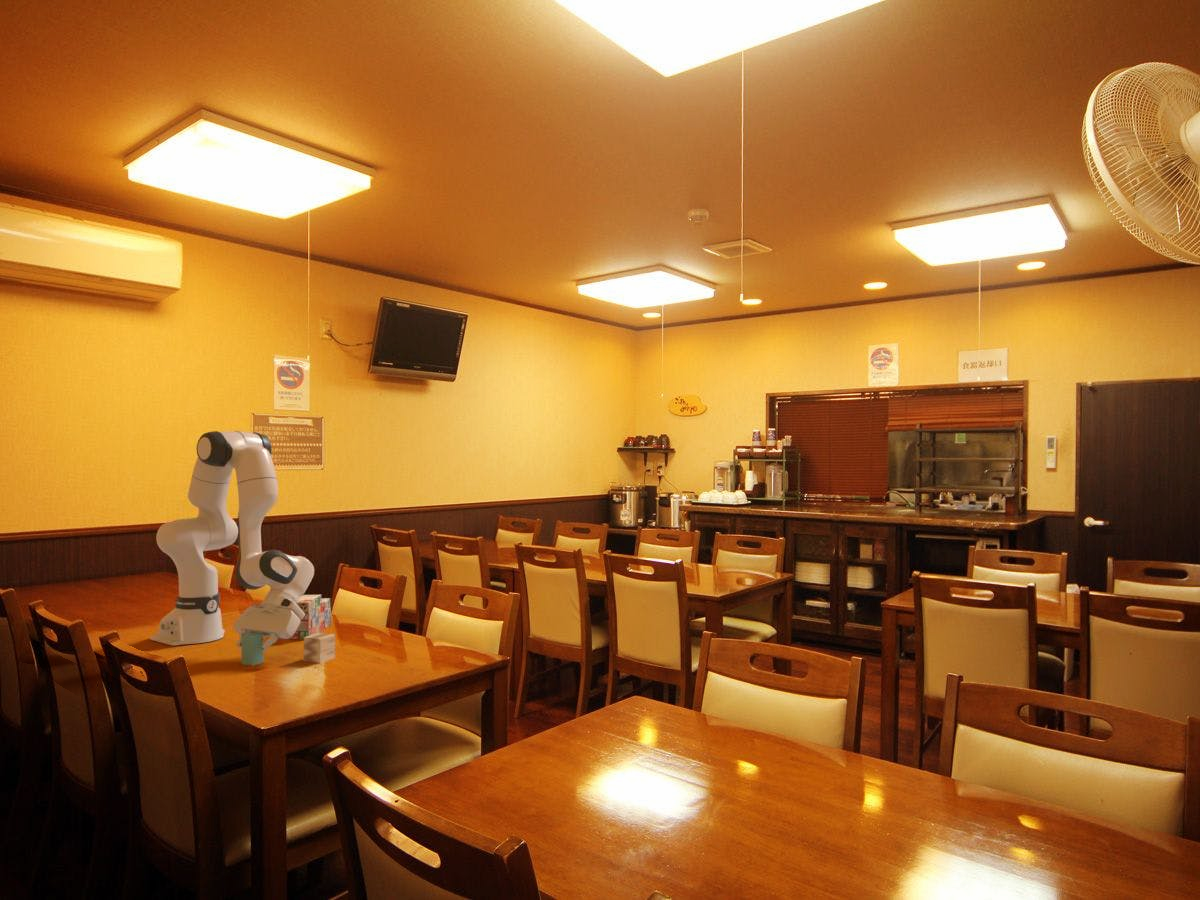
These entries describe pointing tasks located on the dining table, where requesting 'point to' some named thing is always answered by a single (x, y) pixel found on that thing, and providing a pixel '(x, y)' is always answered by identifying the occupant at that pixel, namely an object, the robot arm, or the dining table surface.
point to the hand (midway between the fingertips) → (251, 647)
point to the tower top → (319, 642)
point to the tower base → (319, 655)
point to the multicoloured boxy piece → (313, 615)
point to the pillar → (252, 649)
